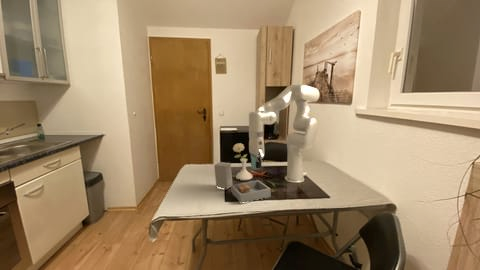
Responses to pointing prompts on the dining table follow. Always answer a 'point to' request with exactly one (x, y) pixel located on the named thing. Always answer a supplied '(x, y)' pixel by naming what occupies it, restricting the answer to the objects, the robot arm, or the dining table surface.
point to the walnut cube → (244, 189)
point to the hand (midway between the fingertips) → (256, 166)
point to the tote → (252, 191)
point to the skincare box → (223, 175)
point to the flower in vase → (244, 173)
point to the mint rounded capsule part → (254, 162)
